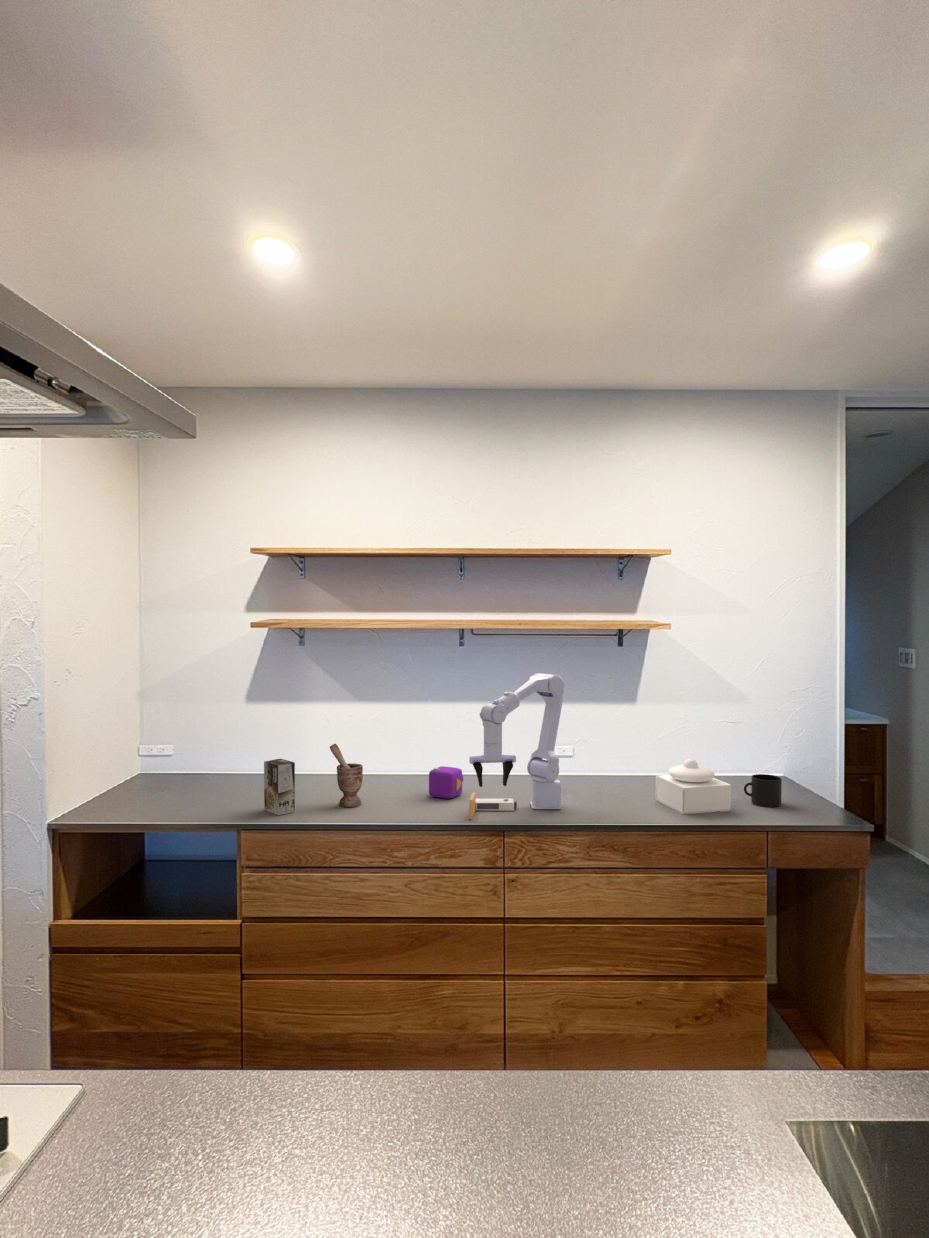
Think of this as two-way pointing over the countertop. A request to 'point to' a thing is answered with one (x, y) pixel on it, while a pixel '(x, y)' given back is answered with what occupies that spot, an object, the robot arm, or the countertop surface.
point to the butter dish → (692, 789)
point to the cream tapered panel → (495, 805)
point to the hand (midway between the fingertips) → (492, 785)
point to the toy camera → (445, 782)
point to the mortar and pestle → (348, 779)
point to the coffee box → (279, 786)
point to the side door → (472, 805)
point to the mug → (765, 790)
